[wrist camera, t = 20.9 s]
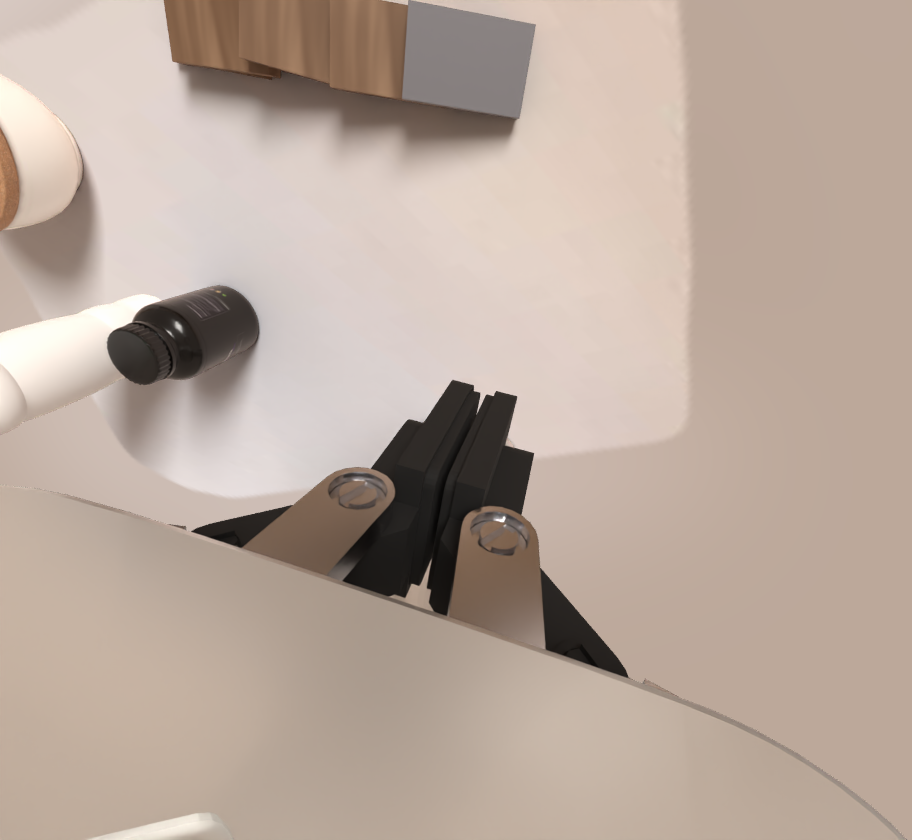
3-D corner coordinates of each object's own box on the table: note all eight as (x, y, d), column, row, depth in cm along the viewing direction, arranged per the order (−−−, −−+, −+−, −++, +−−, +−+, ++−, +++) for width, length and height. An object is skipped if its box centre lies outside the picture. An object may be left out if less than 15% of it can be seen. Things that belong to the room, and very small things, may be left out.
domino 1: (263, -17, 31) (159, -28, 32) (268, 74, 34) (172, 61, 35) (276, -10, 33) (177, -21, 34) (281, 78, 35) (188, 65, 36)
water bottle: (137, 348, 52) (-178, 472, 31) (124, 285, 49) (-242, 376, 27) (192, 363, 51) (-94, 502, 30) (183, 300, 48) (-149, 407, 26)
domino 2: (366, 1, 31) (239, -40, 29) (356, 91, 33) (238, 57, 32) (368, 7, 32) (246, -32, 31) (358, 92, 35) (245, 60, 33)
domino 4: (535, 24, 29) (408, -1, 28) (519, 118, 32) (402, 98, 31) (531, 29, 31) (409, 6, 30) (515, 119, 33) (403, 100, 32)
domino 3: (455, 14, 30) (329, -10, 29) (445, 106, 33) (329, 86, 32) (454, 20, 31) (334, -3, 31) (445, 107, 34) (334, 89, 33)
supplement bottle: (258, 360, 49) (169, 410, 38) (200, 335, 49) (97, 378, 39) (265, 299, 45) (168, 336, 35) (202, 272, 46) (89, 302, 35)
